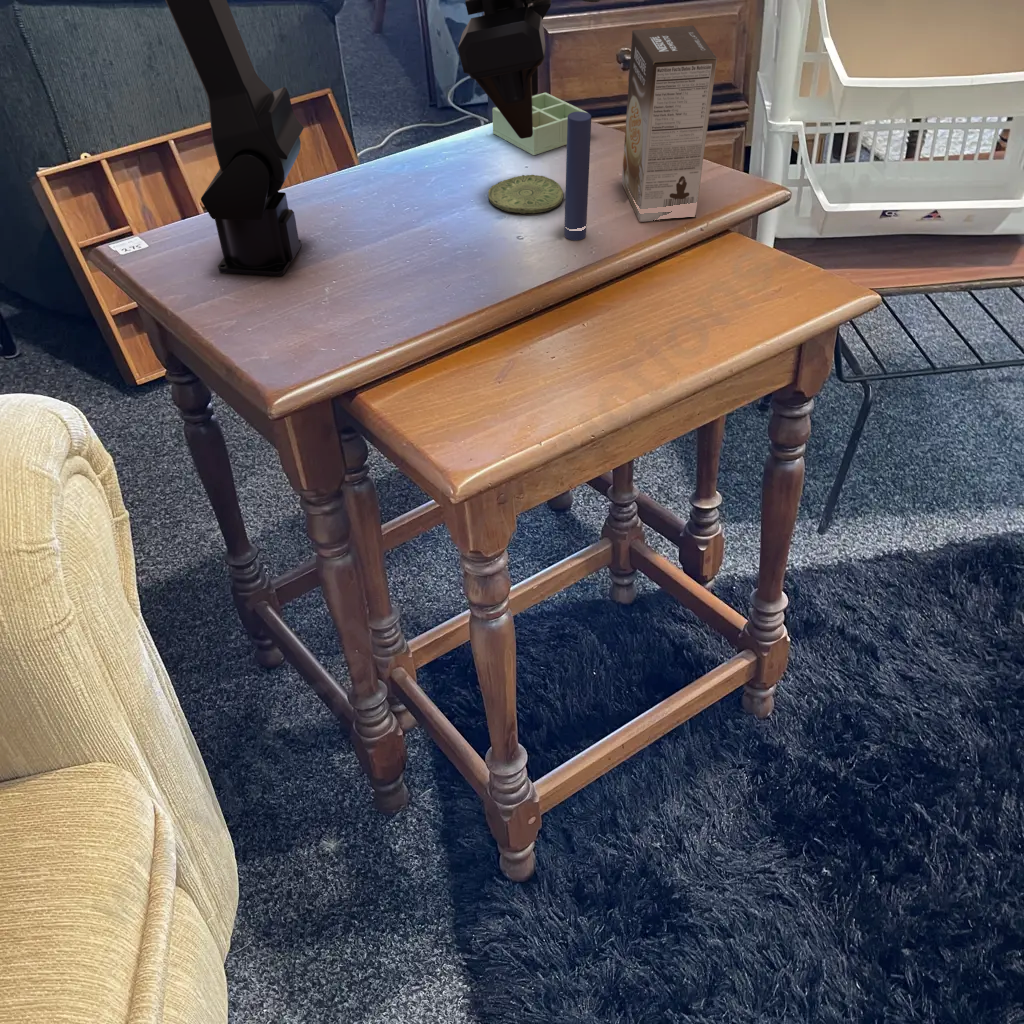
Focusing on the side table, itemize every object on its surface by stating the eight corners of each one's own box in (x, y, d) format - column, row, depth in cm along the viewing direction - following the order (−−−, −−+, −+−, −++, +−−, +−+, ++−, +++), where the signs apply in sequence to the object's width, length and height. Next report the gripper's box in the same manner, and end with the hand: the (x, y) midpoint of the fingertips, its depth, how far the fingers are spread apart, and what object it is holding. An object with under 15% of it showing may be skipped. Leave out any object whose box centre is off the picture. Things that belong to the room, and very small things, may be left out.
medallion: (578, 194, 105) (578, 188, 105) (530, 221, 101) (530, 214, 100) (521, 173, 109) (521, 167, 109) (473, 198, 105) (472, 192, 104)
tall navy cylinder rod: (563, 240, 98) (566, 120, 90) (565, 229, 100) (568, 110, 92) (585, 241, 98) (590, 121, 90) (586, 230, 100) (592, 111, 92)
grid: (533, 155, 113) (533, 129, 111) (492, 133, 118) (492, 108, 115) (586, 137, 116) (587, 112, 114) (545, 116, 121) (545, 92, 119)
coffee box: (619, 184, 107) (629, 27, 96) (676, 180, 108) (693, 23, 97) (638, 223, 101) (652, 60, 90) (699, 219, 101) (720, 56, 90)
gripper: (592, -81, 66) (624, 143, 77) (594, -139, 80) (621, 58, 90) (433, -45, 68) (485, 168, 79) (461, -107, 82) (502, 82, 92)
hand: (529, 115), depth 85 cm, fingers open, 9 cm apart
